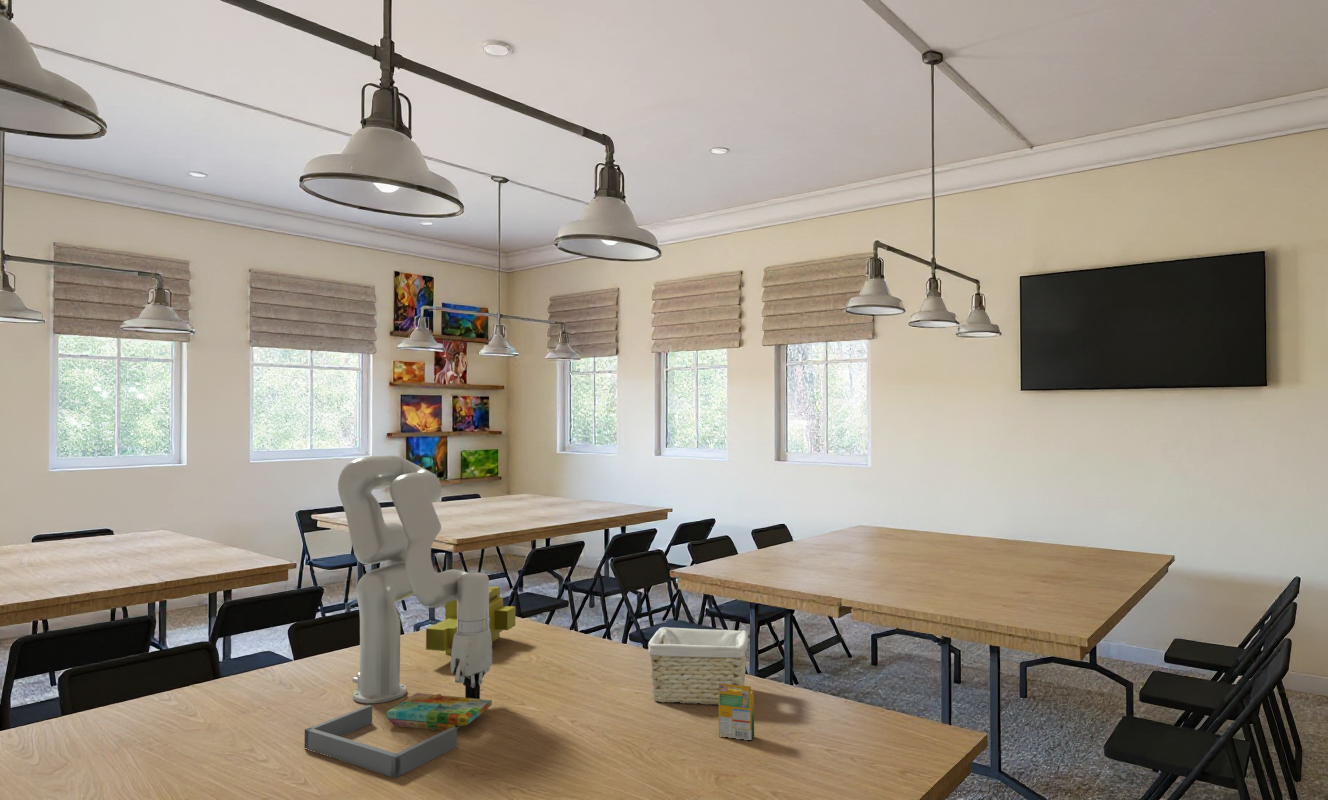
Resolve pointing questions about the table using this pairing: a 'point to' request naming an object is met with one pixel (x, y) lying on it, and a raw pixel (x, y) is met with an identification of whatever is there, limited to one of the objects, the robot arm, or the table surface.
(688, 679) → the storage basket
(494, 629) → the toy blocks
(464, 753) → the table surface
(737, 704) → the crayon box
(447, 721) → the puzzle game
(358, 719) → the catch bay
